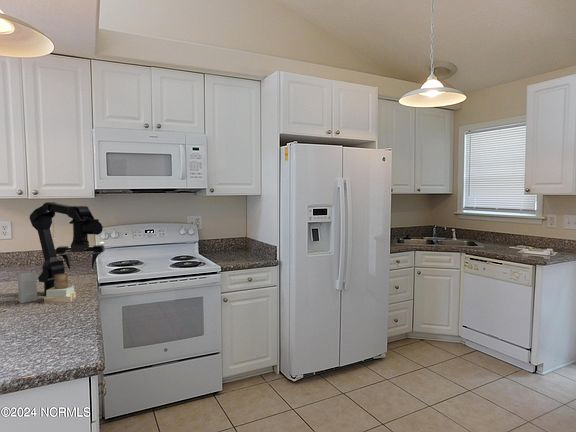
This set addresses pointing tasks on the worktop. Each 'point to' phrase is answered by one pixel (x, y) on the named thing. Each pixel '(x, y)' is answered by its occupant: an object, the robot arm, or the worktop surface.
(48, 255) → the robot arm
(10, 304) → the worktop surface
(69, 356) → the worktop surface
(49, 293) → the sage block
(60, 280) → the brown rounded cylinder
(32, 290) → the skincare box
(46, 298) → the maple block
